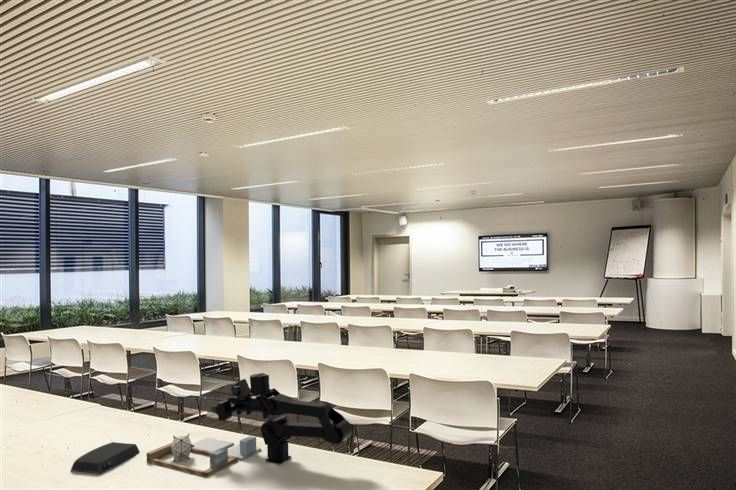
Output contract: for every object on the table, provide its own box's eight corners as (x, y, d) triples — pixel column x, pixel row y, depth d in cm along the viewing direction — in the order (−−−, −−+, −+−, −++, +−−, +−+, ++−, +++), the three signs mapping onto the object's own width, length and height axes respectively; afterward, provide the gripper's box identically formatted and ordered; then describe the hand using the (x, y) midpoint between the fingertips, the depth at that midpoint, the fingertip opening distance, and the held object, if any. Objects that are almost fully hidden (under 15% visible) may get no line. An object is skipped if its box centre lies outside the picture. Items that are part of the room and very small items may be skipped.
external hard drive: (68, 472, 176) (68, 460, 176) (111, 451, 195) (111, 439, 195) (101, 476, 172) (100, 463, 172) (141, 453, 191) (141, 442, 191)
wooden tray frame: (237, 460, 181) (237, 444, 181) (206, 477, 169) (205, 459, 169) (179, 447, 195) (179, 432, 195) (146, 461, 182) (146, 445, 182)
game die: (184, 471, 183) (183, 454, 177) (163, 461, 184) (161, 444, 179) (199, 450, 190) (199, 433, 184) (179, 440, 191) (178, 423, 186)
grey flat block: (261, 450, 190) (260, 435, 190) (241, 460, 181) (241, 444, 181) (208, 439, 203) (207, 424, 203) (187, 448, 194) (187, 433, 194)
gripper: (267, 373, 194) (233, 374, 201) (233, 389, 177) (198, 389, 184) (271, 404, 194) (237, 403, 201) (237, 422, 177) (202, 421, 184)
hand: (219, 403), depth 193 cm, fingers open, 9 cm apart
